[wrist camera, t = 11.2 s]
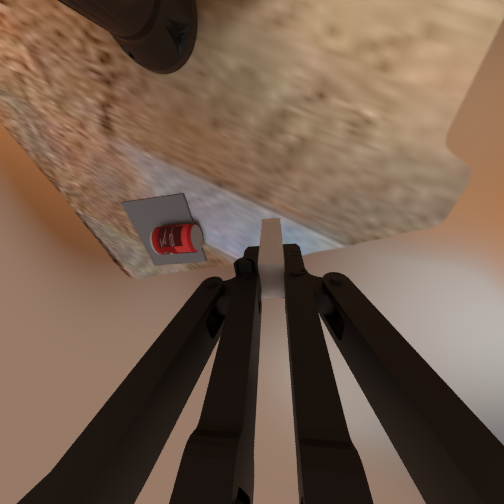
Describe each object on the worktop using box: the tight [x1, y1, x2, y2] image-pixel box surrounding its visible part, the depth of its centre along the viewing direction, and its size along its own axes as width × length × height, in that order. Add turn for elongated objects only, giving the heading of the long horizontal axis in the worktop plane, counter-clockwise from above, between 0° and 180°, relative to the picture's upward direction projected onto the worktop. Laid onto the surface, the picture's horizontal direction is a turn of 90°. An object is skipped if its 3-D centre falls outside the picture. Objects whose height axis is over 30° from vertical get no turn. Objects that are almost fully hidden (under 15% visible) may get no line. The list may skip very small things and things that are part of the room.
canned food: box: [150, 224, 203, 255], centre depth 49 cm, size 8×8×11 cm
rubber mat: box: [122, 193, 207, 265], centre depth 54 cm, size 21×18×1 cm
